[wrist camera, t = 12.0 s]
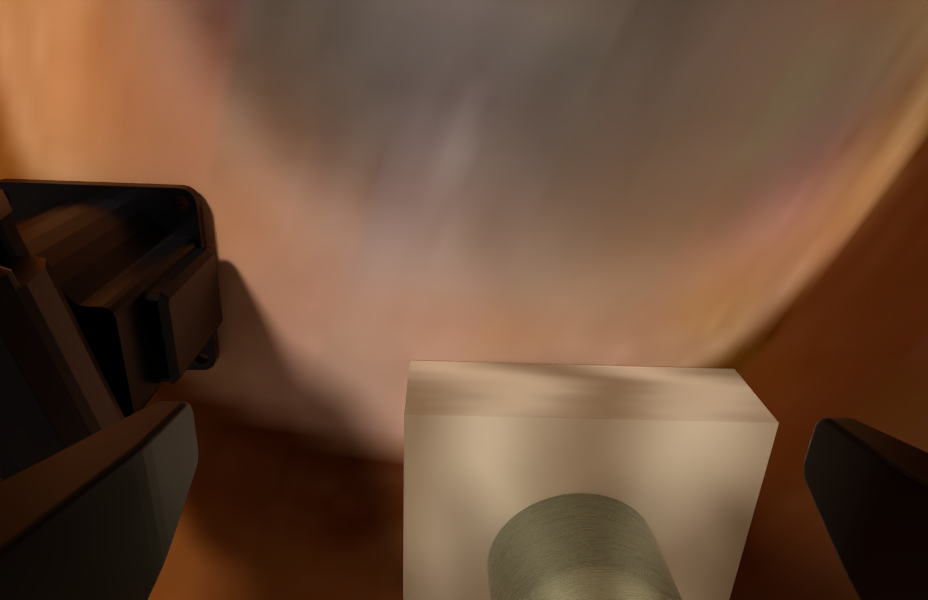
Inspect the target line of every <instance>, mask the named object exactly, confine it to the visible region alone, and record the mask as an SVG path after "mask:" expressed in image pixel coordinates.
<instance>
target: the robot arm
mask: <svg viewBox="0 0 928 600" xmlns="http://www.w3.org/2000/svg"><path fill="white" fill-rule="evenodd" d="M3 190H4V191H5V192H6V193H8V195H9V197H10V202H8V200H7V198H6V196H5V194H4V192H3ZM177 196H182V197H184V198H186V199H187V201H188V203H189V206H188V208H183V207H181V206H180V205H179V204H178V202H177ZM222 320H223V317H222V309H221V300H220V292H219V283H218V274H217V266H216V257H215V254H214V253H213V252H212V251H211V250H210V249H209V248H207V246H206V238H205V230H204V222H203V214H202V205H201V200H200V196H199V194H198V193H197V192H196V191H195V190H194V189H193V188H191V187H189V186H185V185H167V184H139V183H111V182H83V181H55V180H27V179H1V180H0V600H148V598H149V596H150V593H151V591H152V589H153V587H154V585H155V583H156V581H157V578H158V576H159V574H160V572H161V569H162V567H163V565H164V562H165V559H166V557H167V554H168V551H169V549H170V546H171V543H172V540H173V537H174V534H175V531H176V528H177V525H178V522H179V519H180V516H181V513H182V510H183V507H184V504H185V501H186V498H187V495H188V492H189V489H190V486H191V483H192V480H193V477H194V474H195V471H196V468H197V464H198V457H199V452H198V444H197V437H196V430H195V423H194V416H193V410H192V408H191V406H190V405H189V404H188V403H187V402H183V401H158V402H156V403H154V404H152V405H150V406H148V407H146V408H144V407H145V405H146V404H147V403H148V402H149V400H150V399H151V398H152V396H153V395H154V394H155V393H156V391H157V390H158V389H159V387H160V386H161V385H162V384H163V383H166V384H173V383H175V382H176V381H177V380H178V379H179V378H180V377H181V376H182V375H183V373H184V372H185V371H186V370H206V369H209V368H211V367H213V365H214V364H215V362H216V361H217V359H218V358H219V345H218V337H217V328H218V326H219V325H220V324H221V322H222ZM200 351H203V352H205V353H206V354H207V355H208V357H209V358H202V357H201V356H200V355H199V354H198V353H199V352H200ZM143 408H144V409H143ZM803 473H804V478H805V481H806V484H807V486H808V488H809V491H810V493H811V495H812V498H813V500H814V502H815V504H816V507H817V509H818V511H819V514H820V516H821V518H822V520H823V523H824V525H825V527H826V529H827V532H828V534H829V536H830V539H831V541H832V543H833V545H834V548H835V550H836V552H837V555H838V557H839V559H840V561H841V563H842V565H843V567H844V570H845V572H846V574H847V576H848V578H849V580H850V581H851V583H852V585H853V587H854V589H855V591H856V593H857V594H858V596H859V598H860V600H928V453H927V452H925V451H923V450H920V449H918V448H916V447H914V446H912V445H909V444H907V443H905V442H903V441H901V440H898V439H896V438H894V437H892V436H890V435H887V434H885V433H883V432H881V431H879V430H876V429H874V428H872V427H870V426H868V425H865V424H863V423H861V422H859V421H857V420H854V419H852V418H840V417H825V418H822V419H820V420H819V421H818V422H817V423H816V426H815V428H814V431H813V434H812V438H811V441H810V444H809V447H808V451H807V454H806V457H805V460H804V465H803Z"/></svg>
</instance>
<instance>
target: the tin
mask: <svg viewBox="0 0 928 600" xmlns="http://www.w3.org/2000/svg"><path fill="white" fill-rule="evenodd" d="M487 571H488V580H489V590H490V599H491V600H682V597H681V595H680V593H679V591H678V588H677V586H676V584H675V582H674V579H673V577H672V575H671V573H670V570H669V568H668V566H667V564H666V561H665V559H664V557H663V555H662V552H661V550H660V548H659V546H658V543H657V541H656V539H655V537H654V534H653V532H652V530H651V528H650V527H649V525H648V523H647V522H646V521H645V519H644V518H643V517H642V516H641V515H640V514H639V513H638V512H637V511H636V510H634V509H633V508H631V507H630V506H628V505H627V504H625V503H623V502H621V501H619V500H616V499H613V498H611V497H608V496H603V495H598V494H590V493H572V494H563V495H558V496H554V497H550V498H547V499H544V500H541V501H539V502H537V503H534V504H532V505H530V506H528V507H527V508H525V509H523V510H522V511H520V512H519V513H517V514H516V515H515V516H514V517H512V518H511V519H510V520H509V521H508V522H507V523H506V524H505V525H504V526H503V527H502V529H501V530H500V531H499V532H498V534H497V536H496V537H495V539H494V541H493V543H492V545H491V548H490V551H489V555H488V562H487Z"/></svg>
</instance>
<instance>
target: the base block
mask: <svg viewBox="0 0 928 600" xmlns="http://www.w3.org/2000/svg"><path fill="white" fill-rule="evenodd" d="M778 424H779V423H778V421H777V420H776V419H775V418H774V417H773V415H772V414H771V413H770V412H769V411H768V409H767V408H766V407H765V406H764V404H763V403H762V402H761V401H760V400H759V398H758V397H757V396H756V395H755V394H754V392H753V391H752V390H751V389H750V387H749V386H748V385H747V384H746V383H745V381H744V380H743V379H742V378H741V377H740V375H739V374H738V373H737V372H736V370H735V369H713V368H673V367H634V366H595V365H556V364H517V363H478V362H439V361H410V366H409V376H408V385H407V394H406V404H405V413H404V531H403V600H491V599H490V590H489V580H488V571H487V562H488V555H489V551H490V548H491V545H492V543H493V541H494V539H495V537H496V536H497V534H498V532H499V531H500V530H501V529H502V527H503V526H504V525H505V524H506V523H507V522H508V521H509V520H510V519H511V518H512V517H514V516H515V515H516V514H517V513H519V512H520V511H522V510H523V509H525V508H527V507H528V506H530V505H532V504H534V503H537V502H539V501H541V500H544V499H547V498H550V497H554V496H558V495H563V494H572V493H590V494H598V495H603V496H608V497H611V498H613V499H616V500H619V501H621V502H623V503H625V504H627V505H628V506H630V507H631V508H633V509H634V510H636V511H637V512H638V513H639V514H640V515H641V516H642V517H643V518H644V519H645V521H646V522H647V523H648V525H649V527H650V528H651V530H652V532H653V534H654V537H655V539H656V541H657V543H658V546H659V548H660V550H661V552H662V555H663V557H664V559H665V561H666V564H667V566H668V568H669V570H670V573H671V575H672V577H673V579H674V582H675V584H676V586H677V588H678V591H679V593H680V595H681V597H682V600H729V599H730V596H731V592H732V588H733V585H734V581H735V578H736V574H737V571H738V567H739V563H740V560H741V556H742V553H743V549H744V546H745V542H746V538H747V535H748V531H749V528H750V524H751V521H752V517H753V513H754V510H755V506H756V503H757V499H758V496H759V492H760V488H761V485H762V481H763V478H764V474H765V471H766V467H767V464H768V460H769V456H770V453H771V449H772V446H773V442H774V439H775V435H776V431H777V428H778Z"/></svg>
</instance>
